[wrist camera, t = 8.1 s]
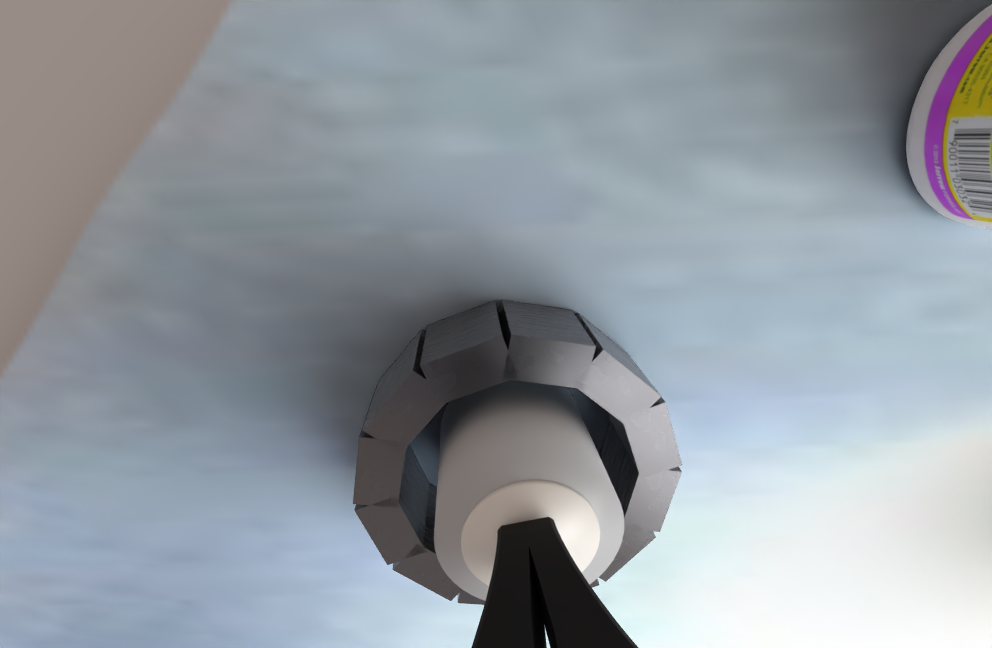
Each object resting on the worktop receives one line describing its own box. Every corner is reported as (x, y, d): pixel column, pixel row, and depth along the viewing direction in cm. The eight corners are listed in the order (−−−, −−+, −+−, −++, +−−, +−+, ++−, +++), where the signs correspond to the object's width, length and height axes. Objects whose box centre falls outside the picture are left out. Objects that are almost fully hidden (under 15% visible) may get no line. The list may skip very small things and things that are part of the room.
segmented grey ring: (522, 573, 20) (533, 645, 17) (318, 453, 17) (290, 514, 14) (696, 410, 17) (742, 461, 15) (493, 243, 15) (500, 266, 12)
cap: (520, 507, 19) (541, 637, 14) (412, 443, 17) (394, 561, 12) (608, 416, 17) (666, 522, 13) (500, 339, 16) (518, 424, 11)
